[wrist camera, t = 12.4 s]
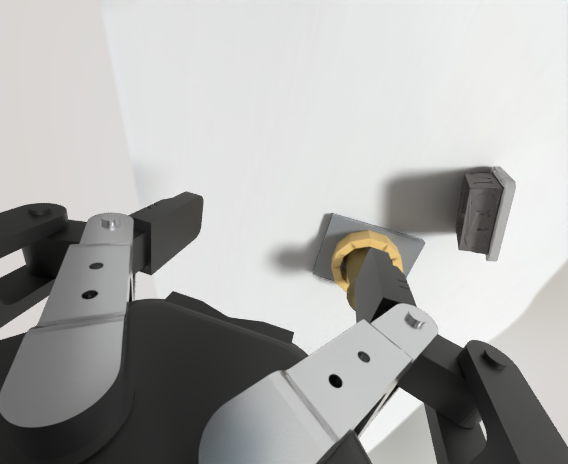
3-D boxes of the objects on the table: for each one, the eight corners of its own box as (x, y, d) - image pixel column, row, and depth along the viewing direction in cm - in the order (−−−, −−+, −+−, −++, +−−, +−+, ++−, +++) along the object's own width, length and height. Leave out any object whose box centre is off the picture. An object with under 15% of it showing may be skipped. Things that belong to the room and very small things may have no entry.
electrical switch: (484, 231, 37) (515, 265, 29) (442, 230, 39) (461, 262, 31) (499, 164, 33) (538, 181, 25) (452, 166, 35) (476, 183, 27)
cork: (378, 278, 42) (388, 328, 32) (340, 271, 43) (339, 318, 33) (387, 245, 39) (401, 288, 30) (346, 239, 40) (347, 279, 31)
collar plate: (332, 213, 40) (331, 223, 37) (423, 239, 39) (431, 252, 35) (313, 270, 45) (310, 284, 42) (393, 295, 44) (397, 312, 40)
